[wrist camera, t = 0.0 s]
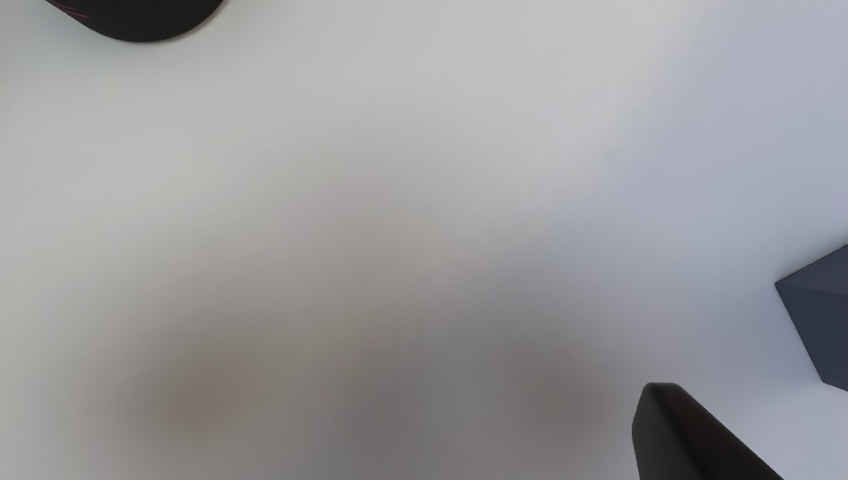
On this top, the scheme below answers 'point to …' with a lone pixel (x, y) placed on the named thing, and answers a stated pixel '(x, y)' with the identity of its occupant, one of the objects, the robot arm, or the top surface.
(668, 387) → the robot arm
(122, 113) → the top surface
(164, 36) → the beverage can
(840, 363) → the block
